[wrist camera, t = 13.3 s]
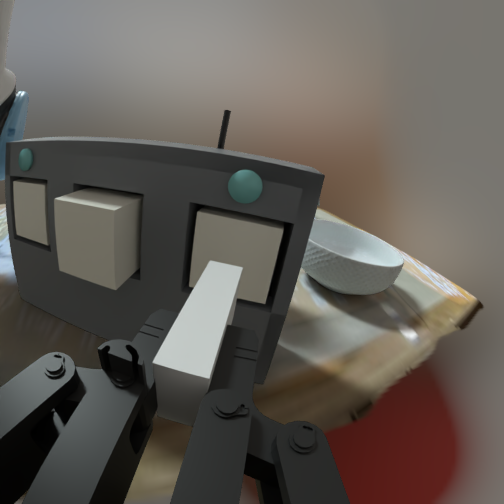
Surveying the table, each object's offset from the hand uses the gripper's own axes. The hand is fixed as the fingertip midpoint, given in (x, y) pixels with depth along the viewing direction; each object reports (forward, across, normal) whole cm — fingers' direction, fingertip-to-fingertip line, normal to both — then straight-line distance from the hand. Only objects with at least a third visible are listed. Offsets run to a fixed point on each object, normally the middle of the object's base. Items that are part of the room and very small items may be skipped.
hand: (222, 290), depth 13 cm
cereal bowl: (+26, +14, -10) cm, 31 cm away
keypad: (+7, -9, -10) cm, 15 cm away
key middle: (+3, -9, -3) cm, 10 cm away
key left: (+6, -18, -3) cm, 19 cm away
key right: (+6, 0, -3) cm, 6 cm away
